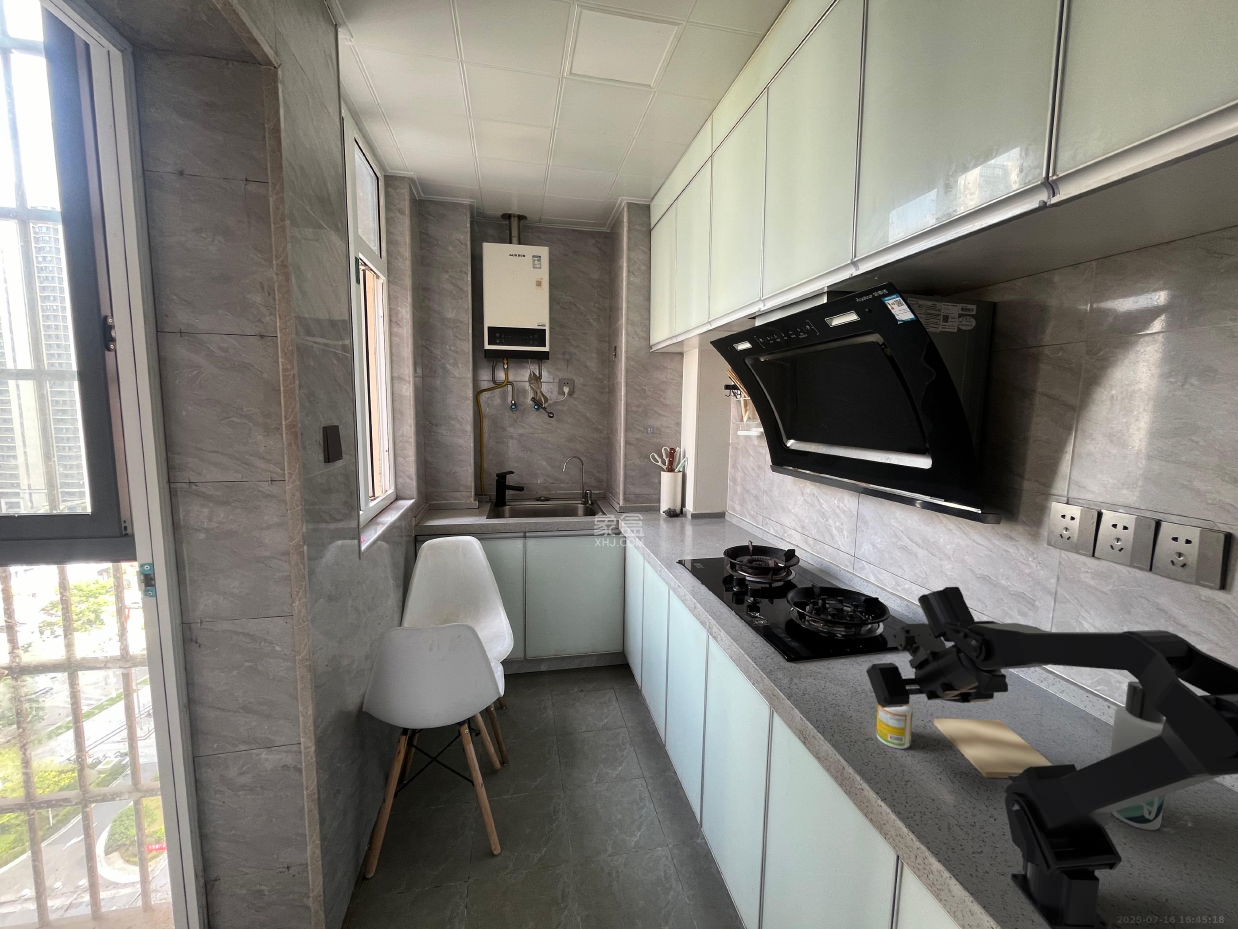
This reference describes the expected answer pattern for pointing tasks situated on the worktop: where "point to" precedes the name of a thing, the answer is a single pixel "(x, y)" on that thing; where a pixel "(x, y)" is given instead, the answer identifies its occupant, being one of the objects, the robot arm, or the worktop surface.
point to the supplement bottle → (895, 725)
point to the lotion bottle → (1129, 730)
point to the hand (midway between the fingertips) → (902, 696)
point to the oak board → (991, 746)
